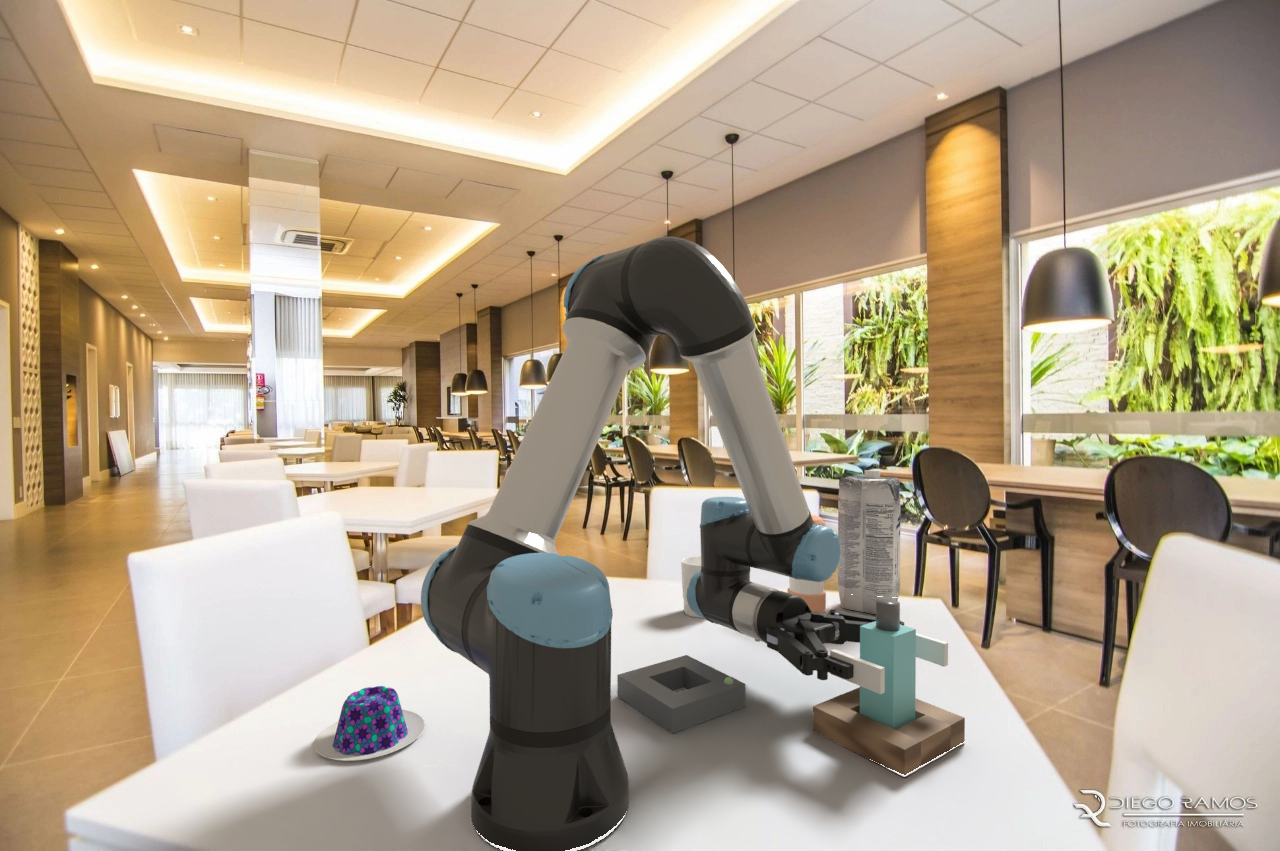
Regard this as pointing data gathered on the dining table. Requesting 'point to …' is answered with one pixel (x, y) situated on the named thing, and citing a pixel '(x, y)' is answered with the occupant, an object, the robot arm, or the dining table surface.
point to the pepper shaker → (810, 586)
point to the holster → (889, 732)
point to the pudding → (369, 726)
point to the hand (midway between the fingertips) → (916, 667)
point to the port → (685, 709)
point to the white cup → (688, 570)
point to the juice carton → (868, 540)
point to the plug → (890, 666)
